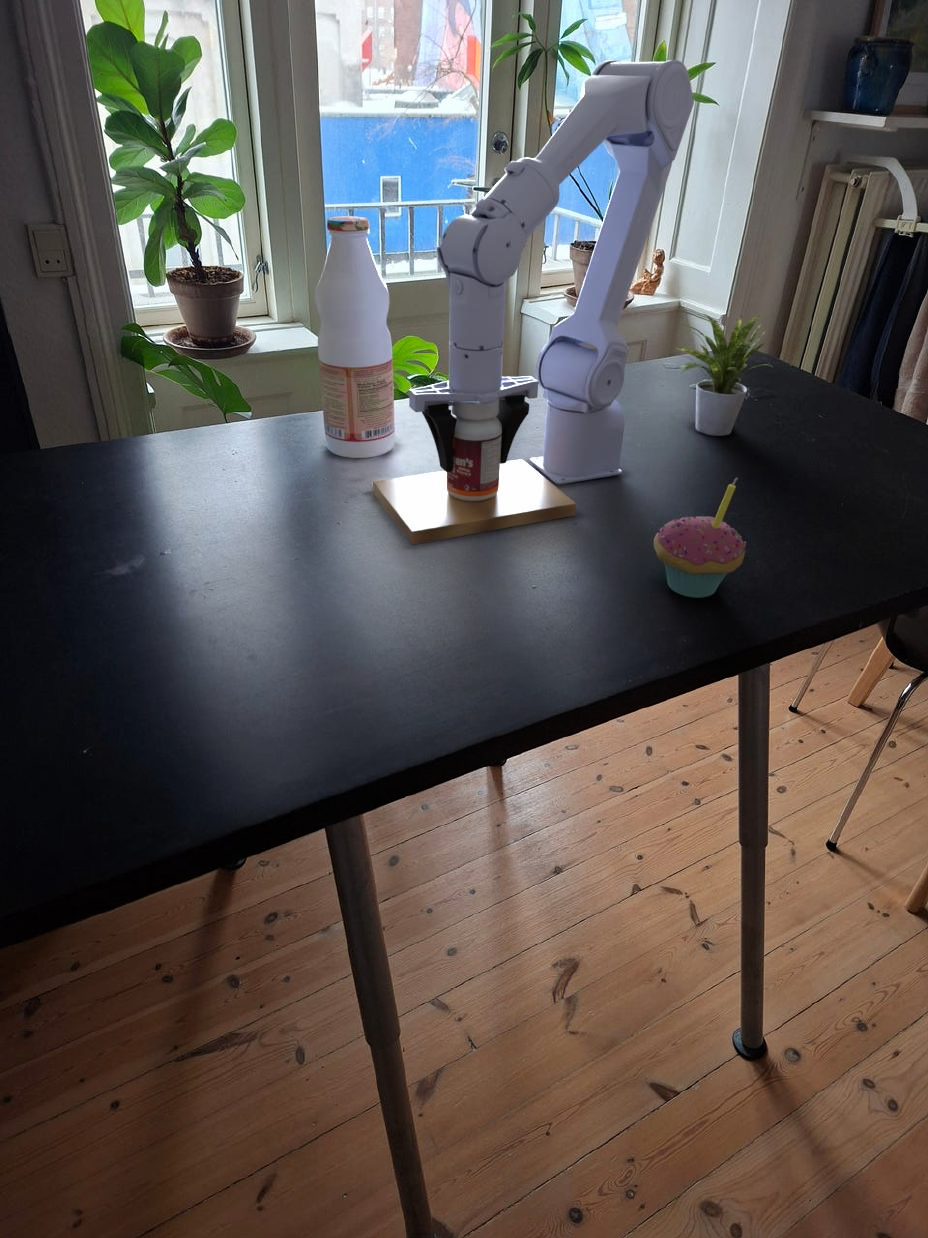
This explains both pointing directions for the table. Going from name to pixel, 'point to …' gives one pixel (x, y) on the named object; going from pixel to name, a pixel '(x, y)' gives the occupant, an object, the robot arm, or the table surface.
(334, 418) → the fruit juice
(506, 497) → the oak board
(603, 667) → the table surface
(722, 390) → the house plant
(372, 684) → the table surface
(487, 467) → the pill bottle
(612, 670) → the table surface
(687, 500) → the table surface
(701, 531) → the cupcake
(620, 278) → the robot arm
